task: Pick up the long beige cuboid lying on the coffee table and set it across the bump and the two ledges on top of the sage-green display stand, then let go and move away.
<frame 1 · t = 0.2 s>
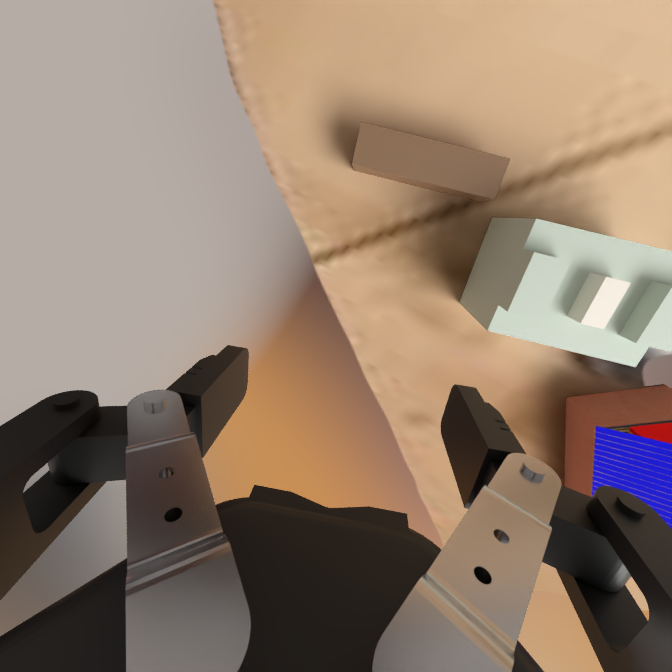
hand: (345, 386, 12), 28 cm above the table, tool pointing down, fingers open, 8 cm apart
stand: (533, 276, 37), on the table
long beige cuboid: (421, 168, 34), on the table
house: (607, 449, 44), on the table
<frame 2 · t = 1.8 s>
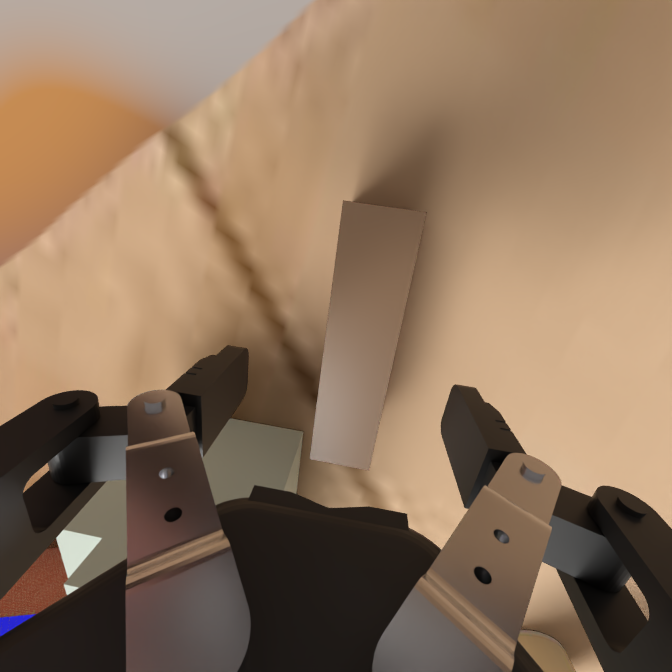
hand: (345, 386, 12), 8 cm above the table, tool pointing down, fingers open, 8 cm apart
stand: (237, 488, 27), on the table
coffee cup: (520, 651, 30), on the table
long beige cuboid: (362, 324, 20), on the table
house: (65, 582, 36), on the table
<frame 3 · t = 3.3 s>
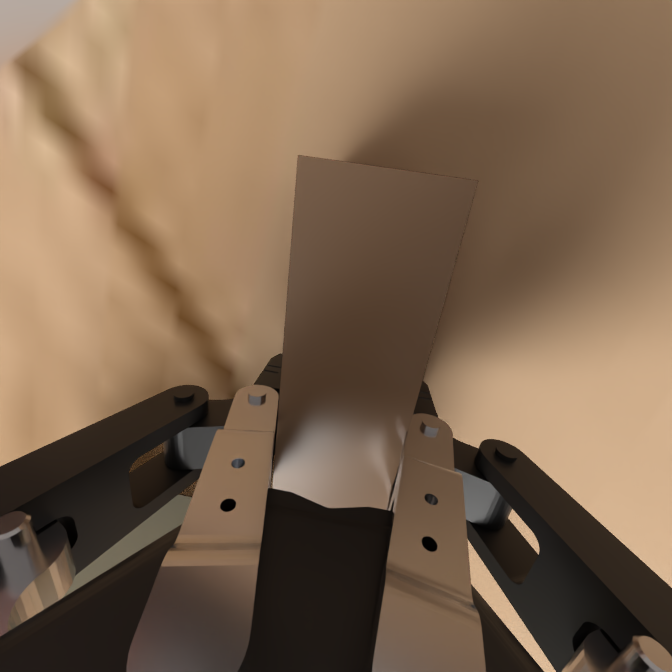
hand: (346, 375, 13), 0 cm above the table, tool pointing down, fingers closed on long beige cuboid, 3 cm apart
stand: (181, 576, 20), on the table
long beige cuboid: (348, 365, 13), on the table, touching gripper
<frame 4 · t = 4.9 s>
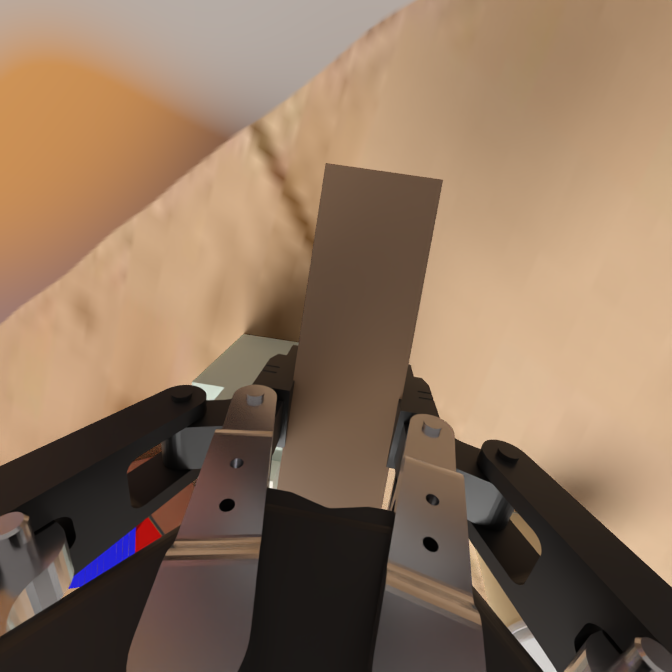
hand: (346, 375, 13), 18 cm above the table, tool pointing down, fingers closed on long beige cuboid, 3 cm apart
stand: (287, 399, 35), on the table
coffee cup: (505, 532, 39), on the table
long beige cuboid: (348, 368, 15), point 16 cm above the table, tilted 16°, touching gripper
house: (137, 495, 44), on the table
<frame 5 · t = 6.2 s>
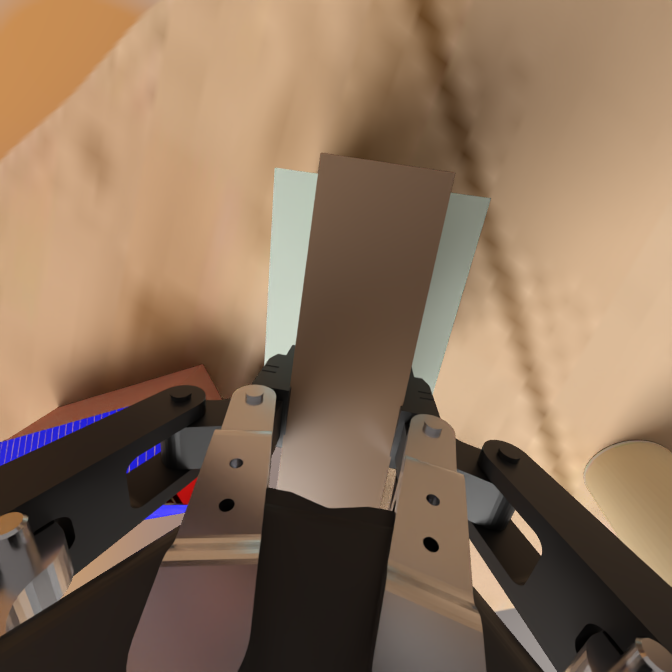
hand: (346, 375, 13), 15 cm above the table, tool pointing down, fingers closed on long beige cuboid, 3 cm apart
stand: (362, 283, 26), on the table
coffee cup: (625, 470, 31), on the table
long beige cuboid: (349, 360, 15), point 13 cm above the table, tilted 9°, touching gripper, stand
house: (155, 427, 36), on the table
when the fingers open (13 cm above the table, at t = 6.7 s): long beige cuboid stays where it is, resting on stand.
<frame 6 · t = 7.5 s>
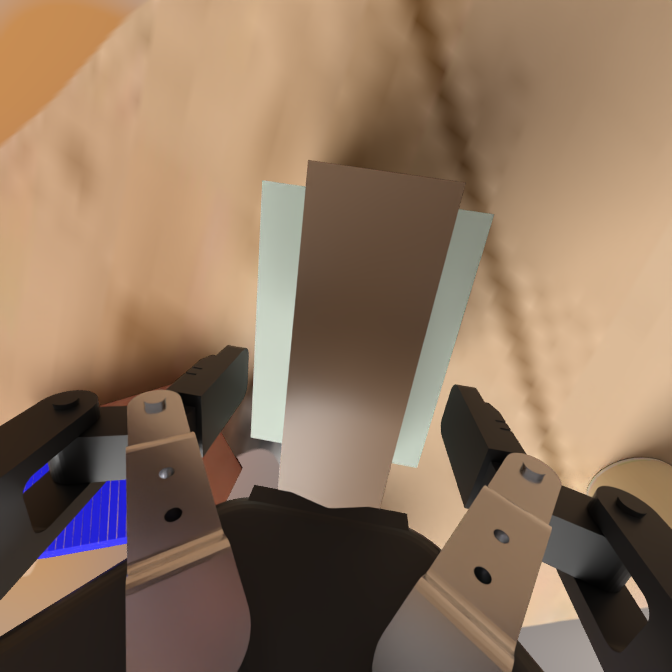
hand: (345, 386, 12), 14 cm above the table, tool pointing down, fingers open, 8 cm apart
stand: (358, 296, 25), on the table
coffee cup: (629, 487, 30), on the table
long beige cuboid: (350, 357, 14), point 12 cm above the table, touching stand
house: (142, 443, 34), on the table
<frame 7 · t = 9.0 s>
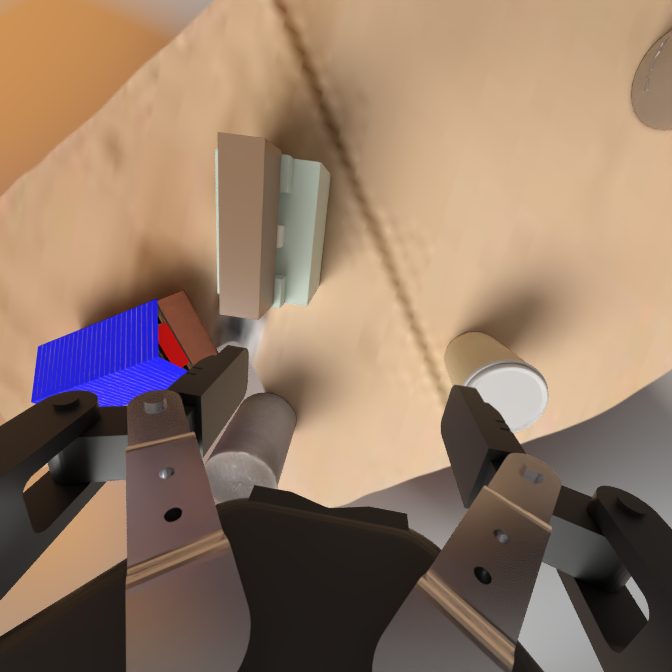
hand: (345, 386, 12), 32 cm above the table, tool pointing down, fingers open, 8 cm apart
stand: (286, 228, 41), on the table
pillar candle: (269, 416, 53), on the table
coffee cup: (470, 355, 46), on the table
long beige cuboid: (259, 231, 30), point 12 cm above the table, touching stand
house: (151, 343, 50), on the table
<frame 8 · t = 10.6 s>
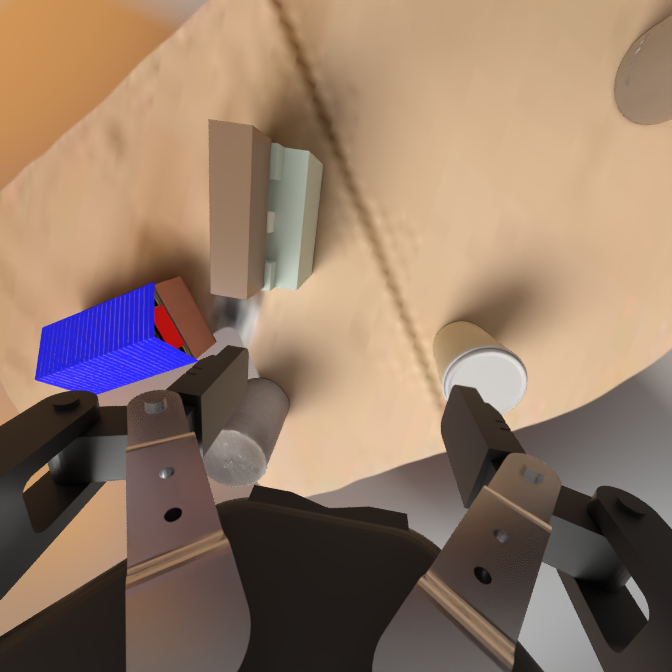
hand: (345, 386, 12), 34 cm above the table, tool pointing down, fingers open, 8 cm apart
stand: (280, 217, 43), on the table
pillar candle: (263, 401, 55), on the table
coffee cup: (458, 344, 47), on the table
long beige cuboid: (250, 217, 32), point 12 cm above the table, touching stand
house: (150, 327, 52), on the table
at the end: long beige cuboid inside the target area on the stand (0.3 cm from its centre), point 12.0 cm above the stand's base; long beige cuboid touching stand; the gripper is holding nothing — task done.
